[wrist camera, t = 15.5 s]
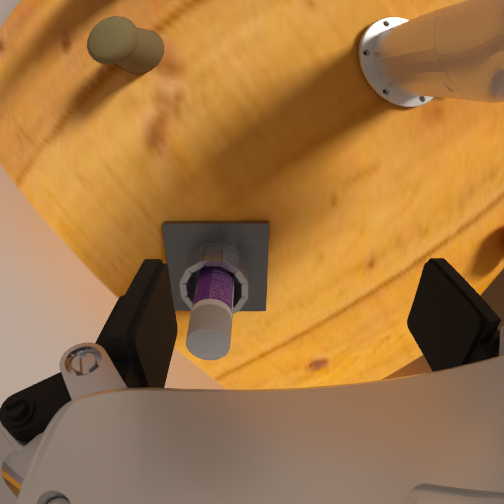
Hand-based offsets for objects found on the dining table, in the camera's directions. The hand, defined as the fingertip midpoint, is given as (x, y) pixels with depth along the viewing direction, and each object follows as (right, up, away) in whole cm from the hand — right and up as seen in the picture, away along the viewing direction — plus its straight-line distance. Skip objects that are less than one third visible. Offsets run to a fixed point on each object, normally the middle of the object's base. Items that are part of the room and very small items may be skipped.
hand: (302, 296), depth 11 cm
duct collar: (-7, -1, +34) cm, 35 cm away
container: (-6, -1, +33) cm, 34 cm away
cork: (-15, +26, +21) cm, 37 cm away
